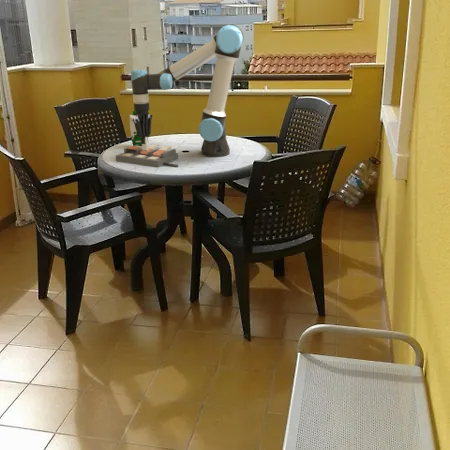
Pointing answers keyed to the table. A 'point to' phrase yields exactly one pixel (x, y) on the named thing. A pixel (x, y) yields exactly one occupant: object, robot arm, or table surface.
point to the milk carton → (134, 131)
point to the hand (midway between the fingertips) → (145, 149)
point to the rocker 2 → (161, 151)
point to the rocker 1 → (135, 147)
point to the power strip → (148, 157)
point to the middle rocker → (151, 148)
